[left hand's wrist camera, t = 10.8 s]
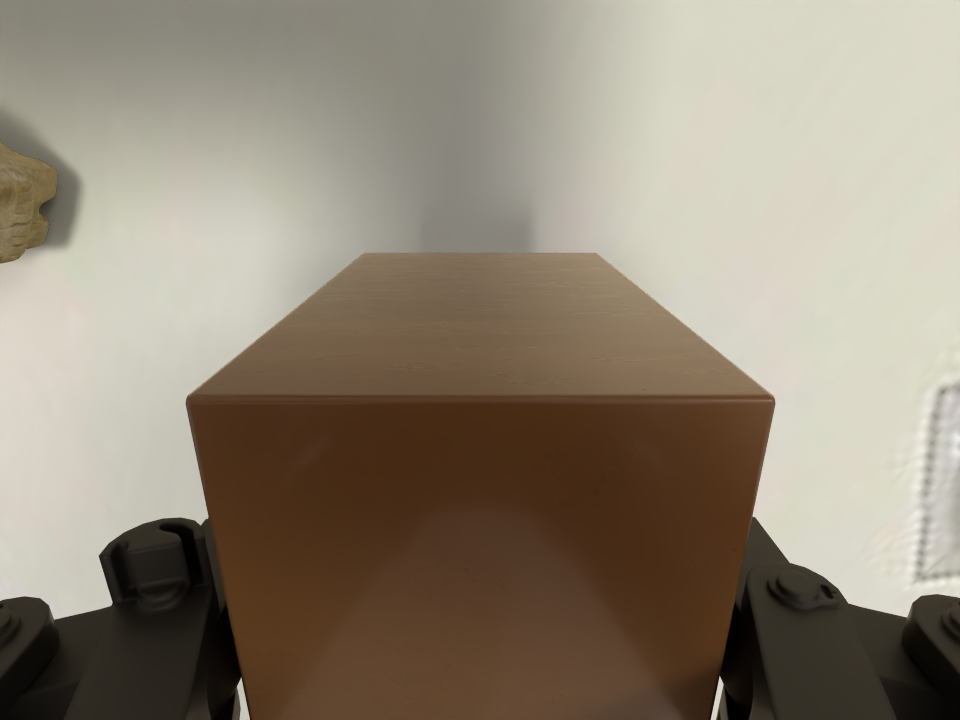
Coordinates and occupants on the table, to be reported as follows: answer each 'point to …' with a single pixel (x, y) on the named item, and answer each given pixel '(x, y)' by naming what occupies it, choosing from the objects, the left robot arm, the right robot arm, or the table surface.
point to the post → (480, 495)
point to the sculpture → (23, 202)
